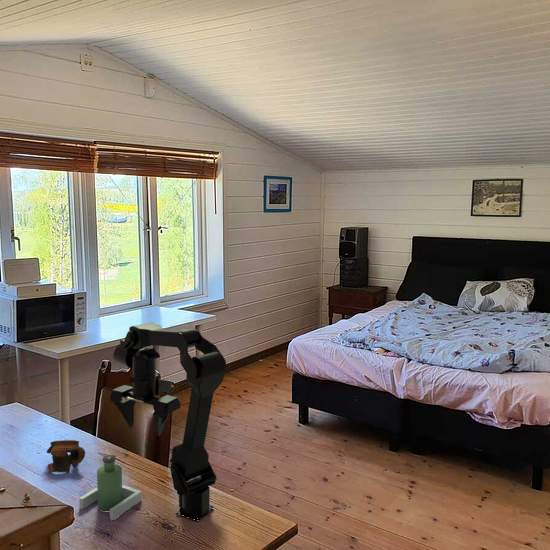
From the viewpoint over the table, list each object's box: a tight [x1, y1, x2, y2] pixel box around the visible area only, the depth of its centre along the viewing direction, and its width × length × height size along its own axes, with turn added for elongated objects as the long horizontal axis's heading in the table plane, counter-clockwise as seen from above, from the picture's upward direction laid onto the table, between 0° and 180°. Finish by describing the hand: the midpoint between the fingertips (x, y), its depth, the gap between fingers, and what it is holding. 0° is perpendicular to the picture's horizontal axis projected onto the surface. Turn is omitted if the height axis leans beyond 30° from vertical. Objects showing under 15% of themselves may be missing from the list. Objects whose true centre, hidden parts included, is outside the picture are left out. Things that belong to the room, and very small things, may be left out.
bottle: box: [96, 454, 123, 512], centre depth 131 cm, size 6×6×12 cm
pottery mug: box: [46, 439, 86, 473], centre depth 151 cm, size 12×10×8 cm
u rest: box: [79, 484, 143, 521], centre depth 132 cm, size 10×10×2 cm
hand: (145, 431), depth 143 cm, fingers open, 9 cm apart
